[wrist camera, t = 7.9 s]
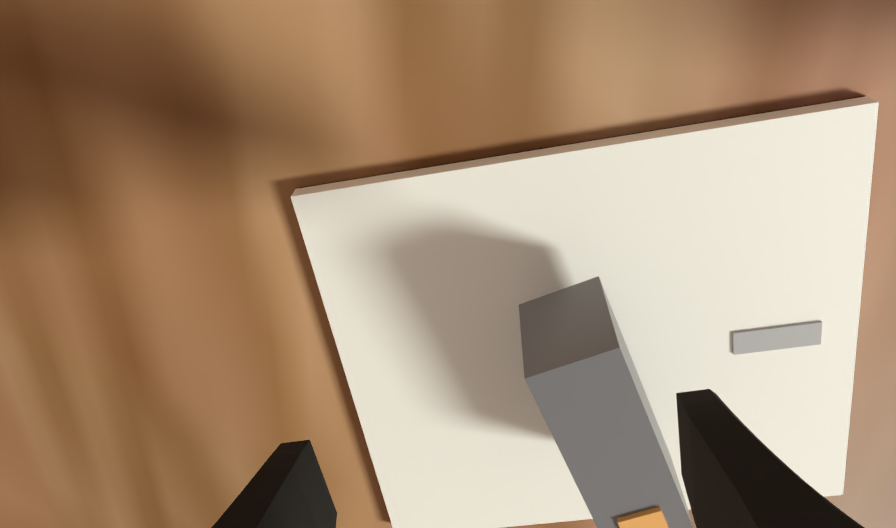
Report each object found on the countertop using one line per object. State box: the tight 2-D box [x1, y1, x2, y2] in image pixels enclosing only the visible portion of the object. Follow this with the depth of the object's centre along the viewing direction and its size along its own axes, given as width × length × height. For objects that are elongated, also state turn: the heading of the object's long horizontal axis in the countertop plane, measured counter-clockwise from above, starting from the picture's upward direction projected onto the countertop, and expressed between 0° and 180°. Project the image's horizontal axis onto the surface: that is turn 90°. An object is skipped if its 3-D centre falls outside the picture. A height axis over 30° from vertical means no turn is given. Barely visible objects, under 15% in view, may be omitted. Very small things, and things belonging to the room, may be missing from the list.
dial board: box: [291, 96, 879, 528], centre depth 23 cm, size 16×14×1 cm
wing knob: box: [519, 276, 694, 528], centre depth 20 cm, size 7×2×5 cm, turn 24°
